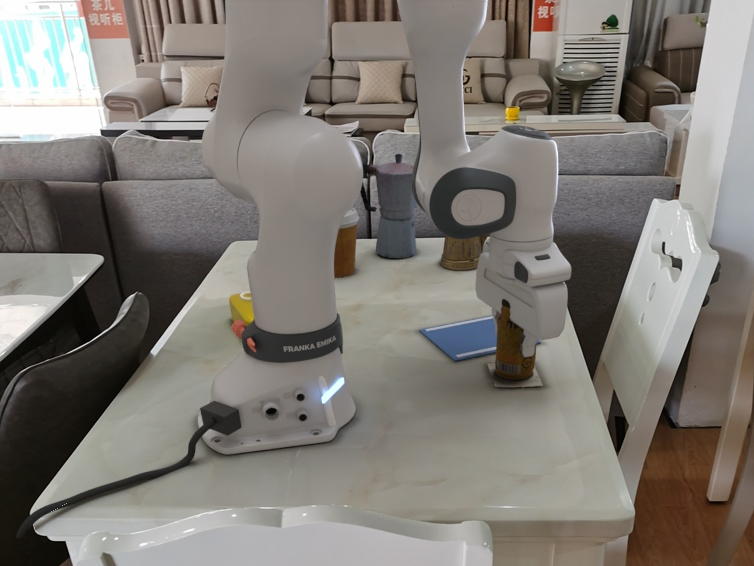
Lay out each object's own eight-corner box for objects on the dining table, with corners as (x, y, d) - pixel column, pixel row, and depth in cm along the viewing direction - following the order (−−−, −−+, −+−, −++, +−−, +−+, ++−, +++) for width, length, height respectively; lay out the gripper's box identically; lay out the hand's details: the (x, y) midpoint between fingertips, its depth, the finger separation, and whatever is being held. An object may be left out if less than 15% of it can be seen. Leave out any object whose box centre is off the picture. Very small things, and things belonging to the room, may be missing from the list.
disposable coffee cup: (321, 264, 166) (316, 205, 159) (365, 265, 165) (362, 205, 158) (311, 279, 159) (306, 218, 151) (357, 280, 157) (354, 218, 150)
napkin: (455, 361, 125) (455, 359, 125) (419, 331, 136) (419, 329, 135) (540, 343, 130) (540, 341, 130) (499, 315, 140) (500, 313, 140)
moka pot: (429, 259, 167) (429, 158, 155) (358, 261, 167) (352, 160, 155) (429, 246, 174) (429, 148, 162) (360, 247, 175) (355, 150, 163)
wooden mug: (506, 269, 160) (512, 175, 149) (441, 271, 161) (441, 177, 150) (502, 256, 167) (507, 165, 156) (440, 257, 168) (440, 167, 157)
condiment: (532, 363, 124) (538, 288, 117) (542, 386, 117) (550, 309, 110) (487, 365, 124) (490, 290, 117) (494, 388, 117) (498, 311, 110)
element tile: (251, 347, 132) (247, 320, 129) (229, 318, 143) (225, 292, 140) (334, 331, 137) (332, 304, 134) (307, 303, 148) (304, 278, 145)
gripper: (466, 237, 117) (464, 325, 125) (538, 278, 102) (530, 376, 110) (503, 231, 119) (499, 319, 127) (579, 271, 104) (568, 367, 112)
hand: (514, 346), depth 118 cm, fingers closed on condiment, 6 cm apart
